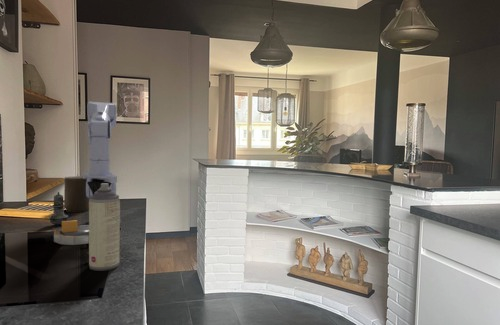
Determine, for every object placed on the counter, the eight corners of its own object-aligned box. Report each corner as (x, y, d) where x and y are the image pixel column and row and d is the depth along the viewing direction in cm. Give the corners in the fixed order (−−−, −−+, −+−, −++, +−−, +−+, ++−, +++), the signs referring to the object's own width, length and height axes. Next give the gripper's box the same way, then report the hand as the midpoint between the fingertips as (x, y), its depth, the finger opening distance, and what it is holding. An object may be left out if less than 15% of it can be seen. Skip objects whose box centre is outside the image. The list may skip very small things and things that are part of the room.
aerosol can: (104, 258, 91) (105, 181, 90) (125, 263, 88) (126, 183, 87) (82, 267, 85) (82, 184, 83) (104, 272, 82) (104, 186, 81)
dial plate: (89, 231, 116) (89, 221, 116) (118, 239, 108) (118, 229, 108) (42, 241, 104) (41, 230, 103) (70, 252, 95) (70, 240, 95)
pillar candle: (83, 212, 142) (83, 175, 142) (59, 211, 143) (59, 174, 142) (94, 208, 152) (94, 173, 151) (71, 207, 152) (71, 172, 151)
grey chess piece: (60, 229, 117) (59, 193, 116) (44, 228, 118) (44, 192, 117) (72, 225, 122) (72, 191, 122) (57, 224, 124) (57, 190, 123)
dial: (95, 231, 112) (95, 215, 112) (100, 239, 104) (100, 221, 104) (60, 235, 107) (60, 218, 106) (63, 243, 99) (63, 225, 99)
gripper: (73, 158, 110) (73, 202, 111) (102, 161, 102) (101, 209, 103) (94, 158, 116) (94, 199, 117) (123, 161, 108) (122, 205, 108)
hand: (99, 203), depth 110 cm, fingers closed
